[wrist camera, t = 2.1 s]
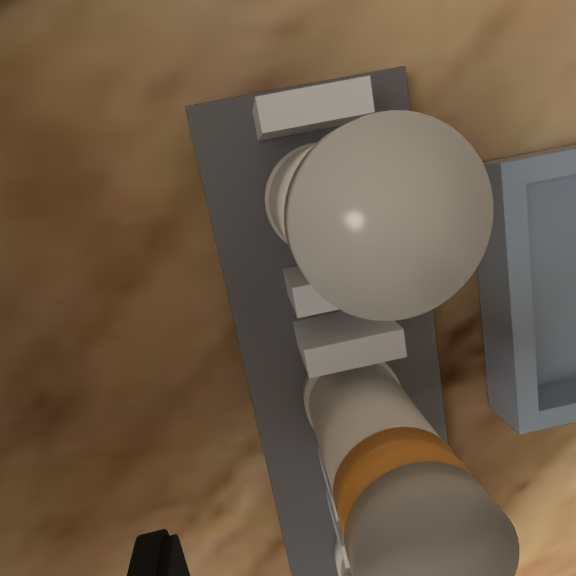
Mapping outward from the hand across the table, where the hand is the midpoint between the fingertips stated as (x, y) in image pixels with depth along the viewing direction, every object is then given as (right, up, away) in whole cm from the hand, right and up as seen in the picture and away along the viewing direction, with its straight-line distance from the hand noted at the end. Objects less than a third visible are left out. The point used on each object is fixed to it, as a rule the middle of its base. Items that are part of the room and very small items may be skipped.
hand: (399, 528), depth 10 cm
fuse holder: (0, +2, +9) cm, 9 cm away
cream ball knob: (-1, +8, +5) cm, 10 cm away
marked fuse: (0, +1, +7) cm, 7 cm away
